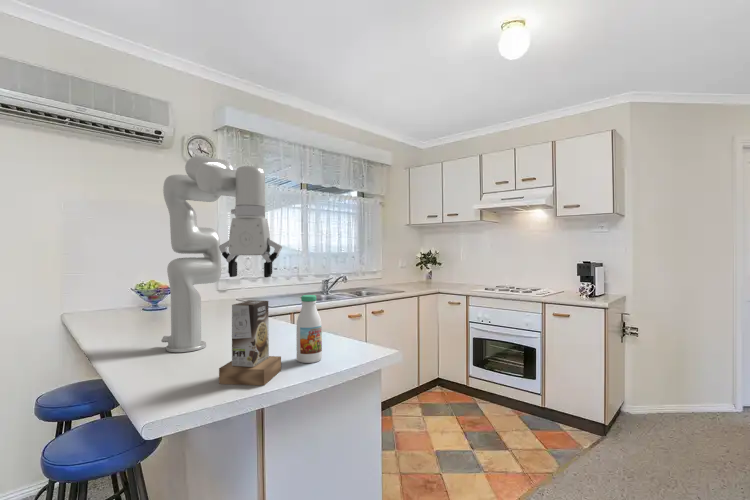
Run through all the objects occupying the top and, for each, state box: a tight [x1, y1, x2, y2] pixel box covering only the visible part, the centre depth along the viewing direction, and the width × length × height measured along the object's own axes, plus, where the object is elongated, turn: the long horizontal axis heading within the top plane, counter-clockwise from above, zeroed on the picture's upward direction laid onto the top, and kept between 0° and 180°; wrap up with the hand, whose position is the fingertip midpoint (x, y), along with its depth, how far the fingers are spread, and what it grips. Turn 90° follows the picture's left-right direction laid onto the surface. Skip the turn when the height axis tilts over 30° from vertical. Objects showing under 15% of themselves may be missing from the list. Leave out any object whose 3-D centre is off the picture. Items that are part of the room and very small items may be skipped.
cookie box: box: [231, 300, 270, 367], centre depth 104 cm, size 9×6×16 cm
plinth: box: [218, 355, 282, 386], centre depth 104 cm, size 12×12×4 cm
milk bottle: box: [295, 294, 323, 364], centre depth 120 cm, size 8×8×20 cm
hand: (250, 276), depth 105 cm, fingers open, 9 cm apart
